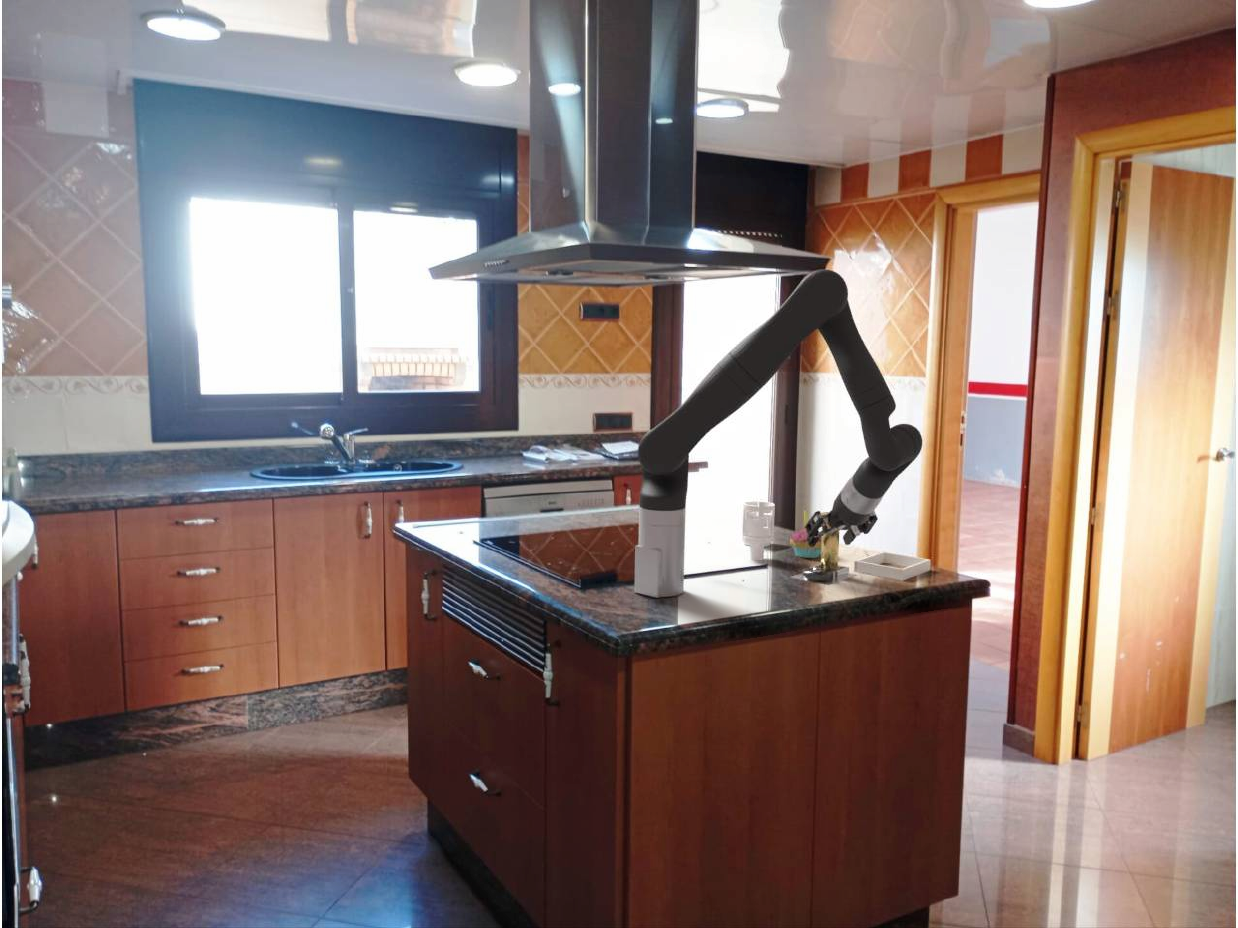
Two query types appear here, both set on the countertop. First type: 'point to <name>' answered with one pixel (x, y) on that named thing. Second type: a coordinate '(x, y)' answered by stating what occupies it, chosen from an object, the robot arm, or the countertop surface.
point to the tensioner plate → (835, 575)
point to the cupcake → (804, 543)
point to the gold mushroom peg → (830, 550)
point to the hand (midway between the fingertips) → (827, 542)
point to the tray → (912, 567)
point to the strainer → (757, 526)
